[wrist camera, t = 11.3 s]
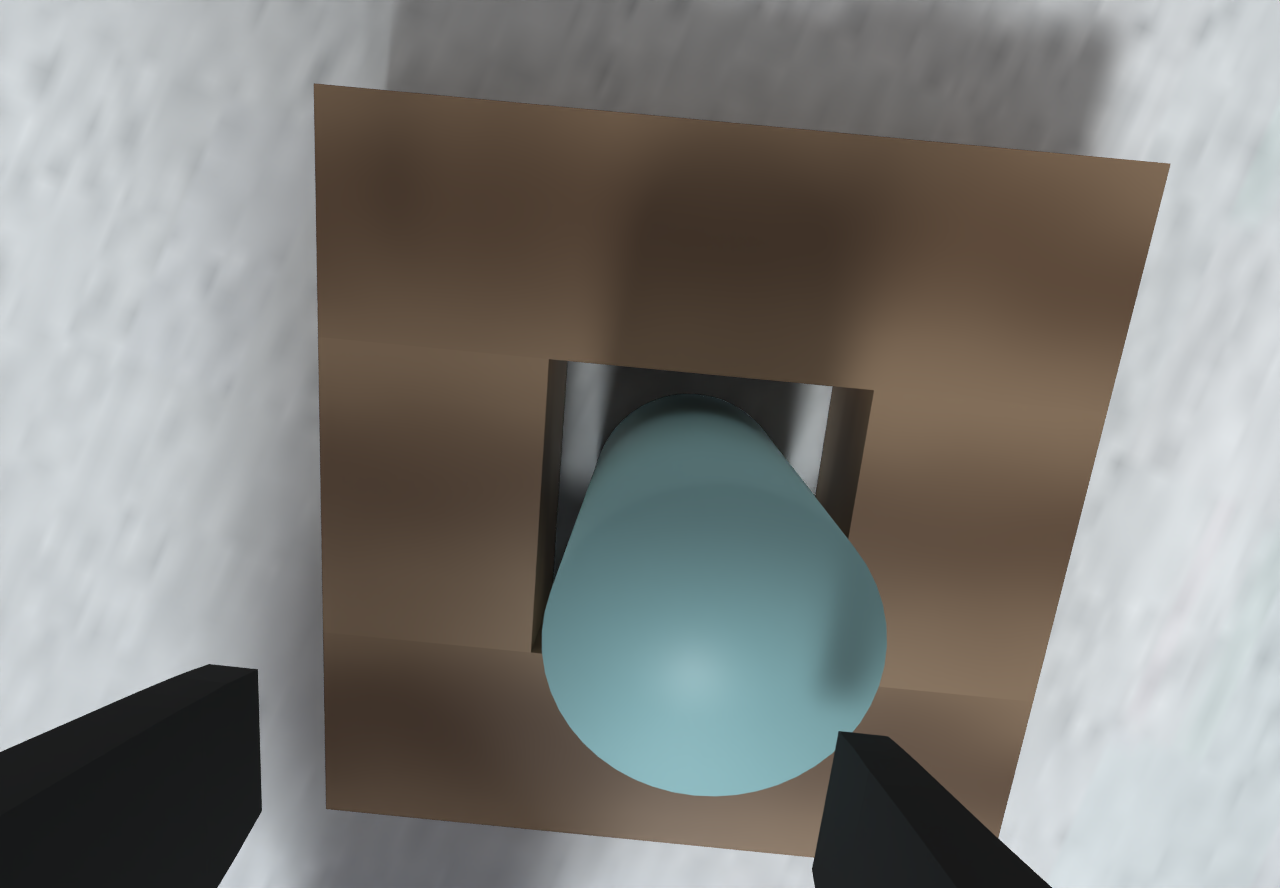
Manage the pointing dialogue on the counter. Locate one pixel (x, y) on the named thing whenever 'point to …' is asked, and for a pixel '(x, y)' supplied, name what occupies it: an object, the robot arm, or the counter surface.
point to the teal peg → (709, 608)
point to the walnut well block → (707, 344)
